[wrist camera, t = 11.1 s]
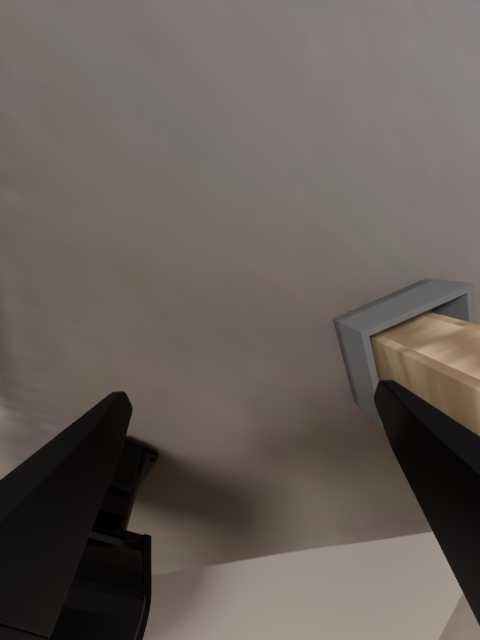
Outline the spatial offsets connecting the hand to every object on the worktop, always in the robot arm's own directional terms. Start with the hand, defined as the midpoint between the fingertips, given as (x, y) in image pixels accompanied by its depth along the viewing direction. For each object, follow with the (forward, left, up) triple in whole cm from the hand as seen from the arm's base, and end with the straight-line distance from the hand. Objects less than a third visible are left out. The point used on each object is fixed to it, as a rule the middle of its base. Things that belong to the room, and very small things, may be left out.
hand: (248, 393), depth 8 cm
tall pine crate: (+7, -16, -12) cm, 21 cm away
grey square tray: (+7, -16, -12) cm, 22 cm away
